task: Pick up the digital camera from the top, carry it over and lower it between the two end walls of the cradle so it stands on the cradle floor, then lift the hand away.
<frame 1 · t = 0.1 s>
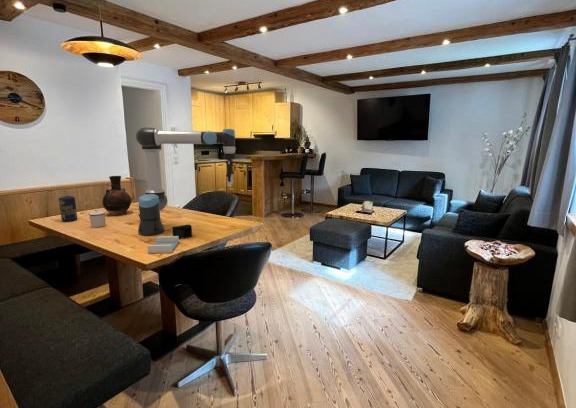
hand: (230, 185, 212), 28 cm above the table, tool pointing down, fingers open, 13 cm apart
teacup with lid: (97, 226, 214), on the table
canister: (69, 220, 227), on the table
ceramic vessel: (118, 214, 247), on the table
cradle: (164, 247, 173), on the table
digital camera: (182, 237, 191), on the table
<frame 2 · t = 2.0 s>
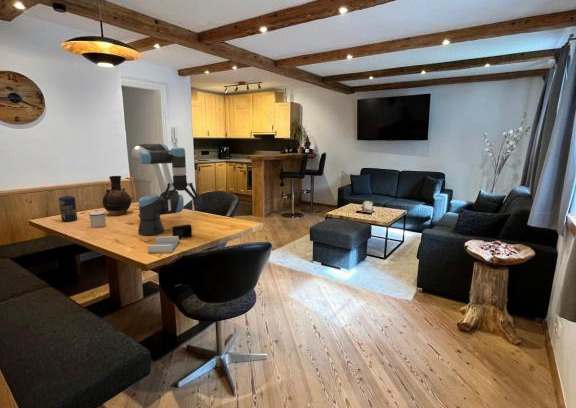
hand: (181, 210, 188), 17 cm above the table, tool pointing down, fingers open, 13 cm apart
nothing on the table moved.
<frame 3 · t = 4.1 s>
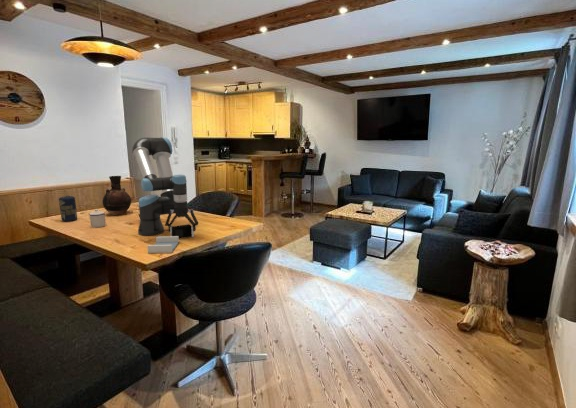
hand: (182, 236, 190), 0 cm above the table, tool pointing down, fingers open, 12 cm apart
digital camera: (182, 237, 191), on the table, touching gripper
everything else where it was.
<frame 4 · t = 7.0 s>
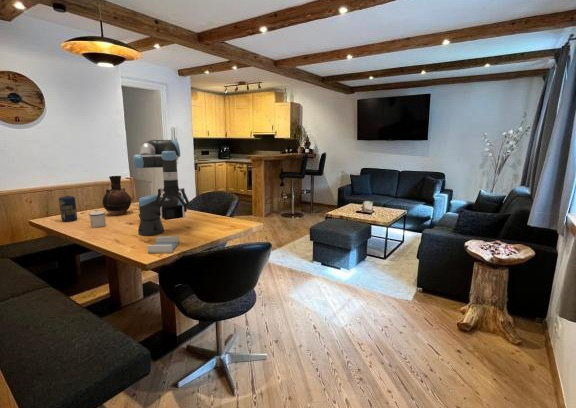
hand: (173, 217, 179), 14 cm above the table, tool pointing down, fingers closed on digital camera, 11 cm apart
digital camera: (173, 218, 179), point 14 cm above the table, touching gripper
everything else where it was.
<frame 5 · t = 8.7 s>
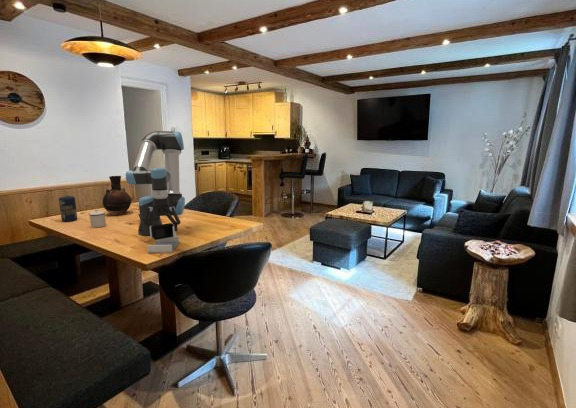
hand: (163, 237, 171), 6 cm above the table, tool pointing down, fingers closed on digital camera, 11 cm apart
digital camera: (163, 238, 172), point 5 cm above the table, touching gripper
everything else where it was.
when the fingers open (3 cm above the table, at t = 9.9 s): digital camera drops 1 cm, resting on cradle.
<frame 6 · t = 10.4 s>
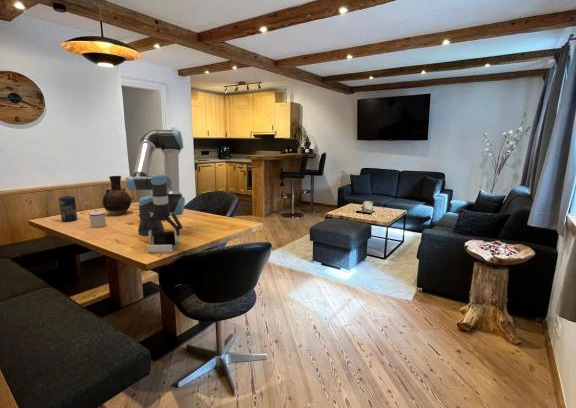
hand: (163, 241, 172), 3 cm above the table, tool pointing down, fingers open, 13 cm apart
digital camera: (164, 246, 173), point 1 cm above the table, touching cradle
everything else where it was.
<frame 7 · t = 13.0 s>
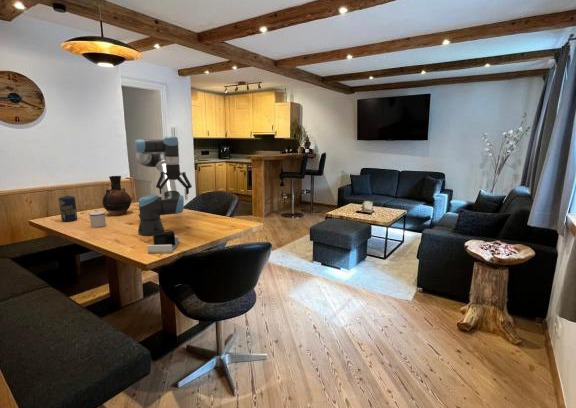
hand: (174, 199, 189), 23 cm above the table, tool pointing down, fingers open, 13 cm apart
nothing on the table moved.
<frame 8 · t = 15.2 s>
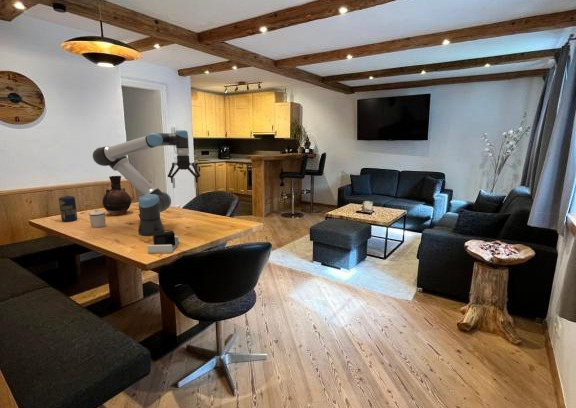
hand: (184, 187, 206), 27 cm above the table, tool pointing down, fingers open, 13 cm apart
nothing on the table moved.
at the end: digital camera 0.7 cm off-centre on the cradle, point 0.8 cm above the cradle's base; digital camera tilted 0°; the gripper is holding nothing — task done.
